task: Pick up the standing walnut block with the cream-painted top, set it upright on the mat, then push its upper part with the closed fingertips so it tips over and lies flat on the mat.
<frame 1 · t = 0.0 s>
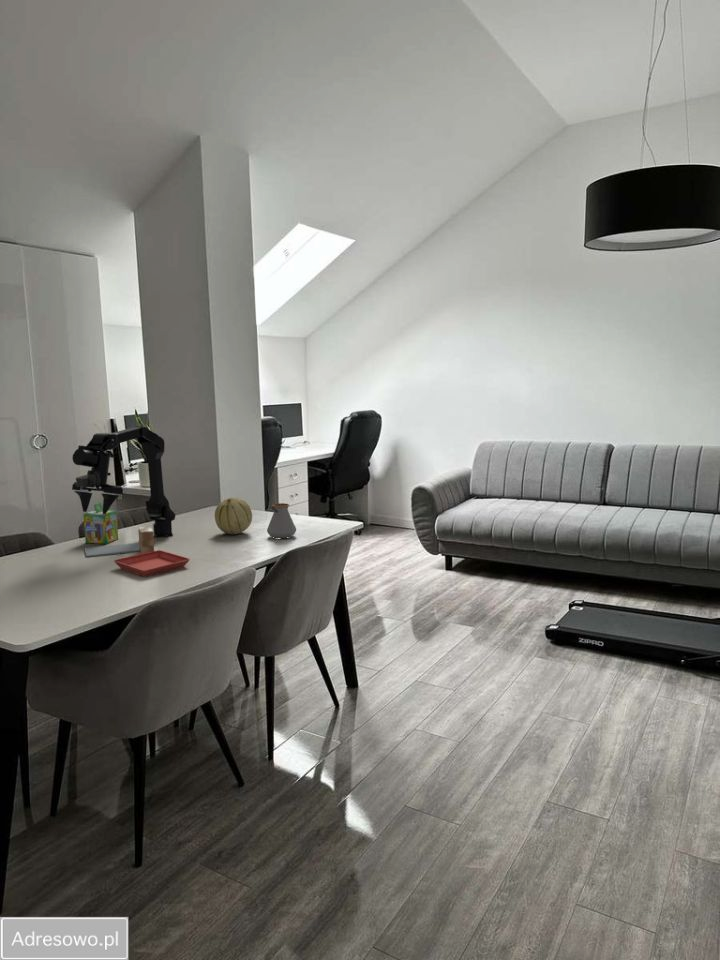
hand: (94, 512, 249), 15 cm above the table, tool pointing down, fingers open, 9 cm apart
coffee pot: (279, 540, 273), on the table
plant saucer: (152, 569, 235), on the table
cantaloupe: (234, 534, 284), on the table
colorful printed box: (102, 541, 273), on the table
block: (147, 553, 254), on the table
mat: (114, 550, 259), on the table
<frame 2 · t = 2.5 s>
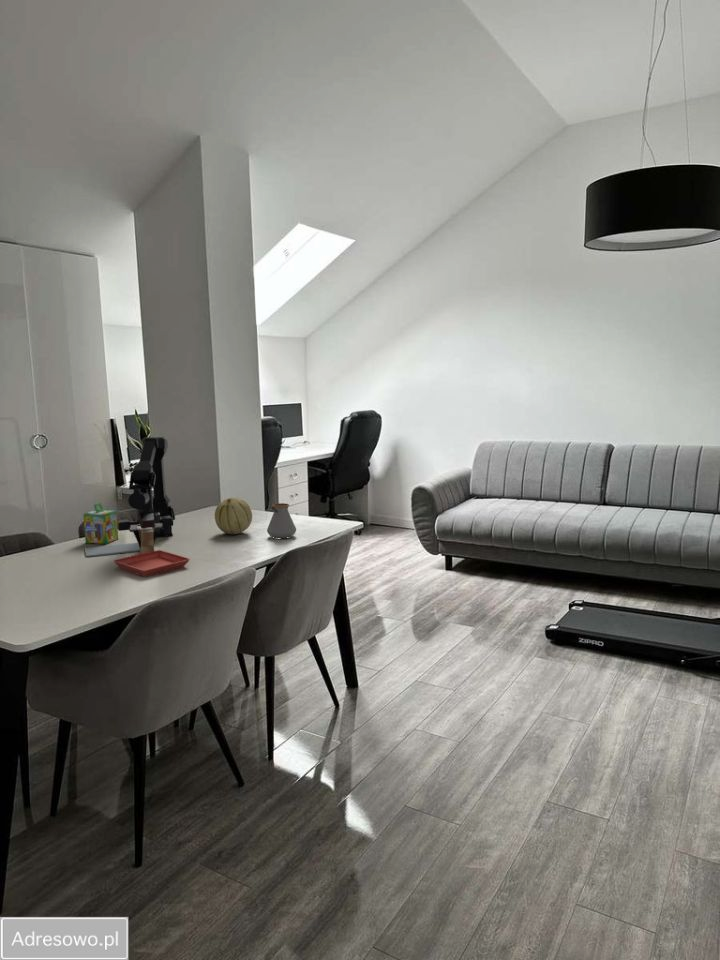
hand: (146, 546, 253), 3 cm above the table, tool pointing down, fingers closed on block, 4 cm apart
block: (147, 553, 254), on the table, touching gripper
everything else where it was.
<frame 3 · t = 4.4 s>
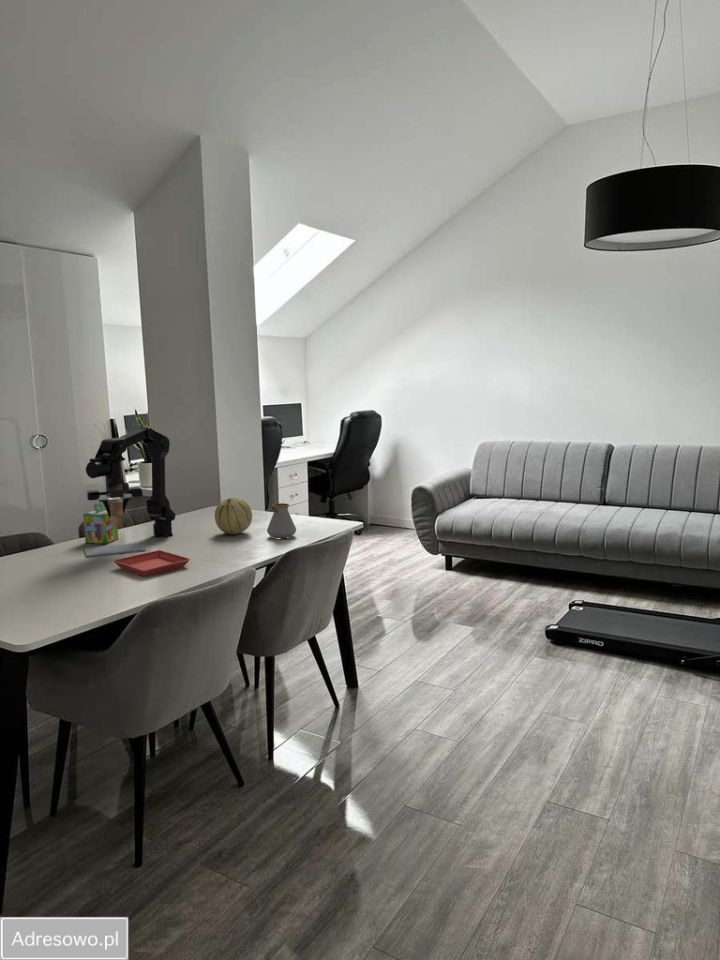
hand: (116, 516, 257), 12 cm above the table, tool pointing down, fingers closed on block, 4 cm apart
block: (116, 523, 258), point 10 cm above the table, touching gripper
everything else where it was.
when the fingers open (4 cm above the table, at t = 6.3 s): block stays where it is, resting on mat.
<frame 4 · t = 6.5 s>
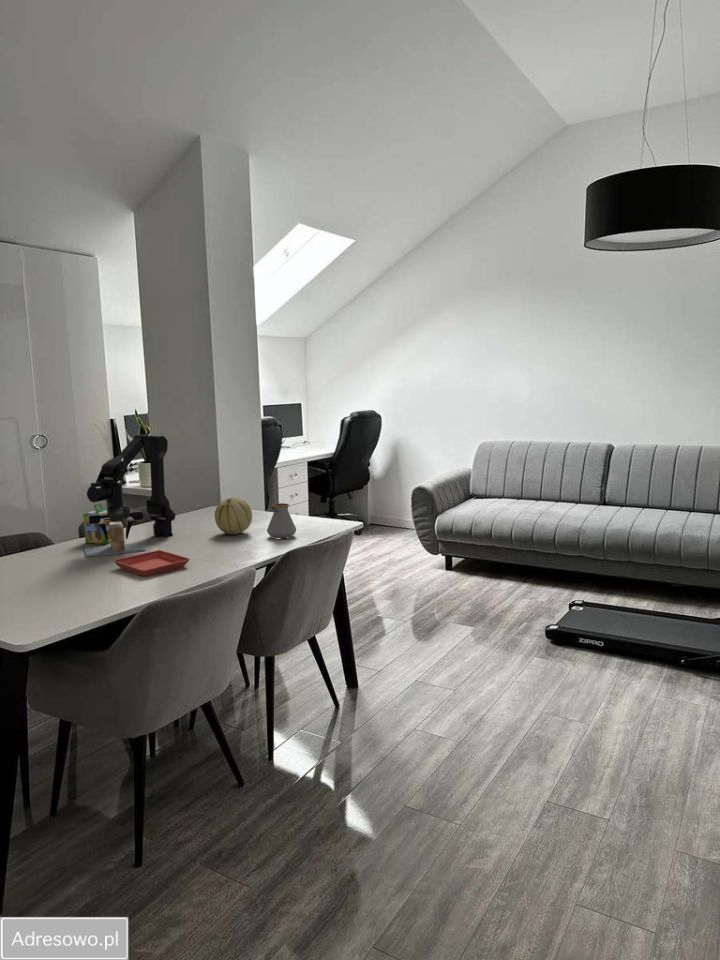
hand: (117, 539, 259), 4 cm above the table, tool pointing down, fingers open, 6 cm apart
block: (117, 548, 259), point 1 cm above the table, touching mat
everything else where it was.
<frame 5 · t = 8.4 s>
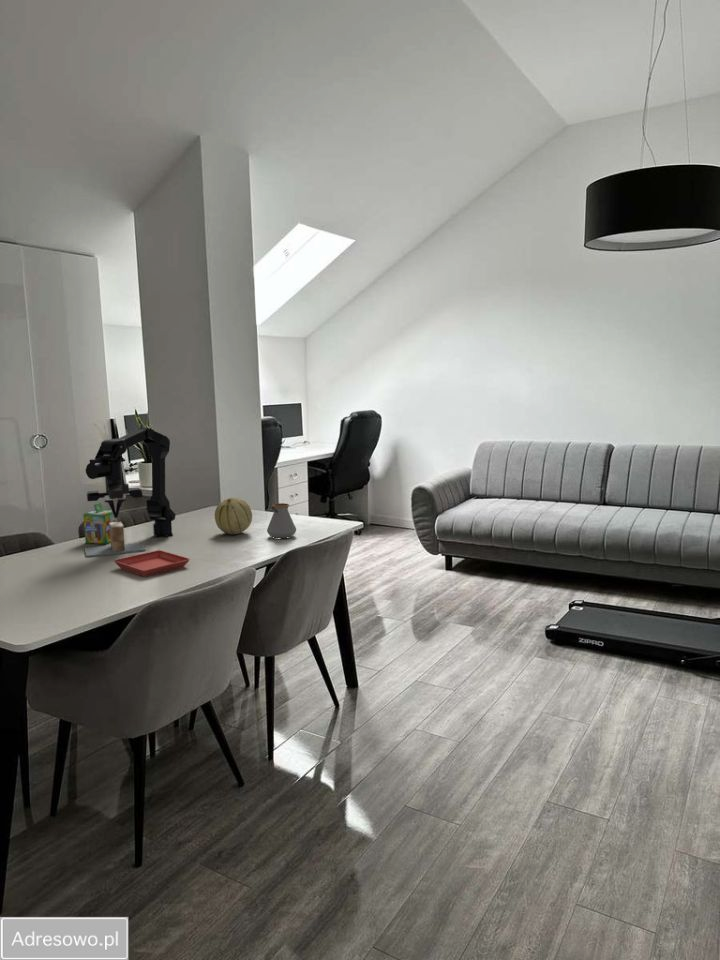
hand: (115, 517, 257), 12 cm above the table, tool pointing down, fingers closed
nothing on the table moved.
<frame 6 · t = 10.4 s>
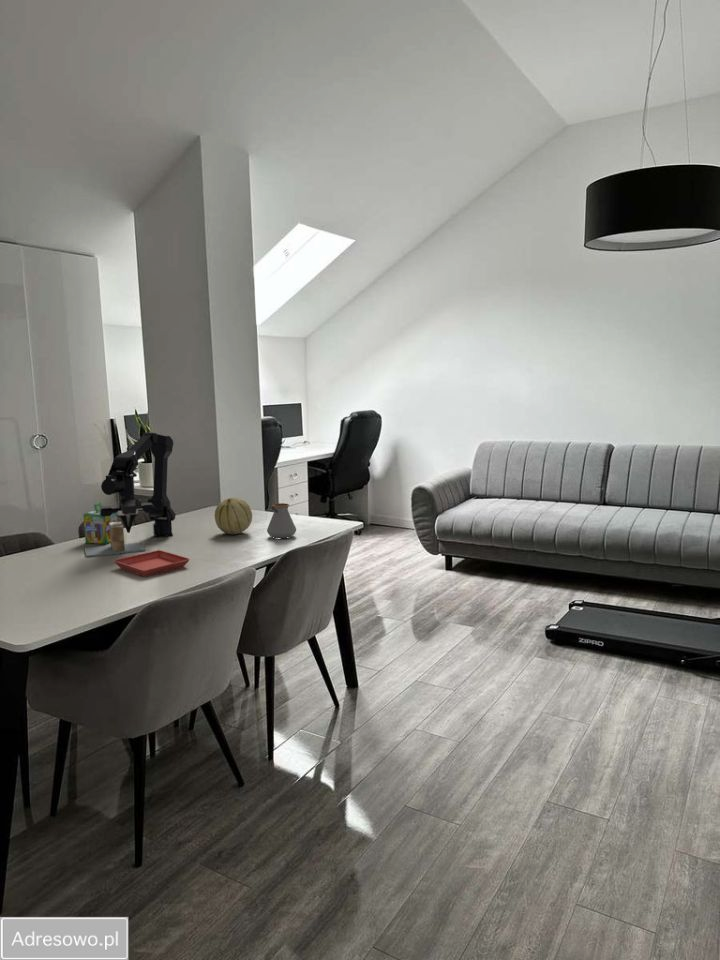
hand: (128, 532, 260), 6 cm above the table, tool pointing down, fingers closed
block: (117, 548, 259), point 1 cm above the table, touching gripper, mat
everything else where it was.
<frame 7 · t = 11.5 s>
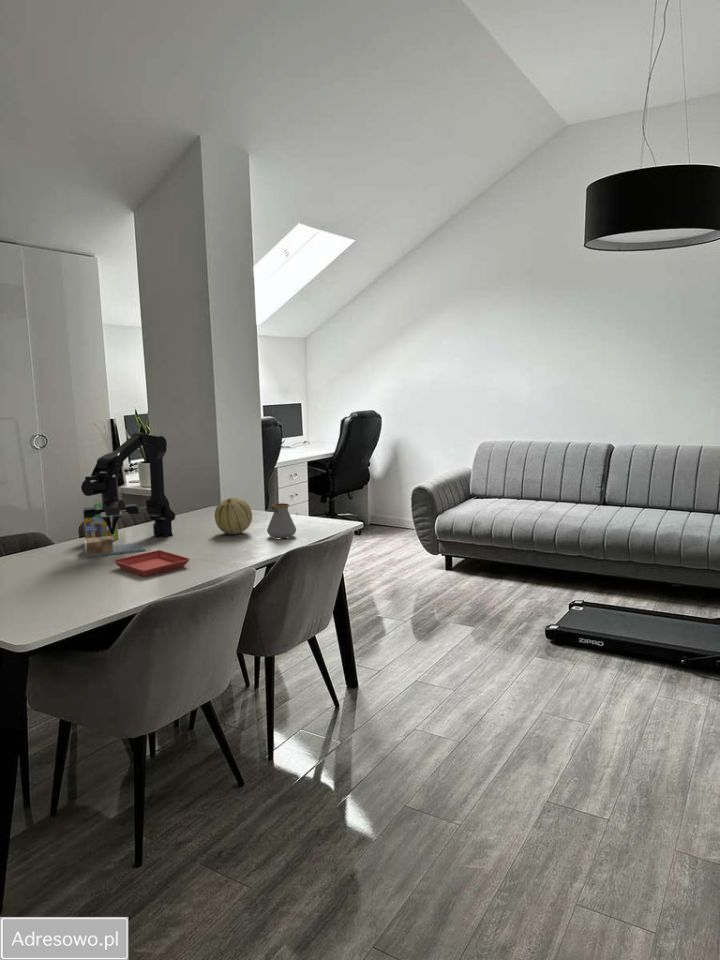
hand: (112, 534, 258), 6 cm above the table, tool pointing down, fingers closed
block: (111, 543, 258), point 3 cm above the table, tilted 90°, touching mat
everything else where it was.
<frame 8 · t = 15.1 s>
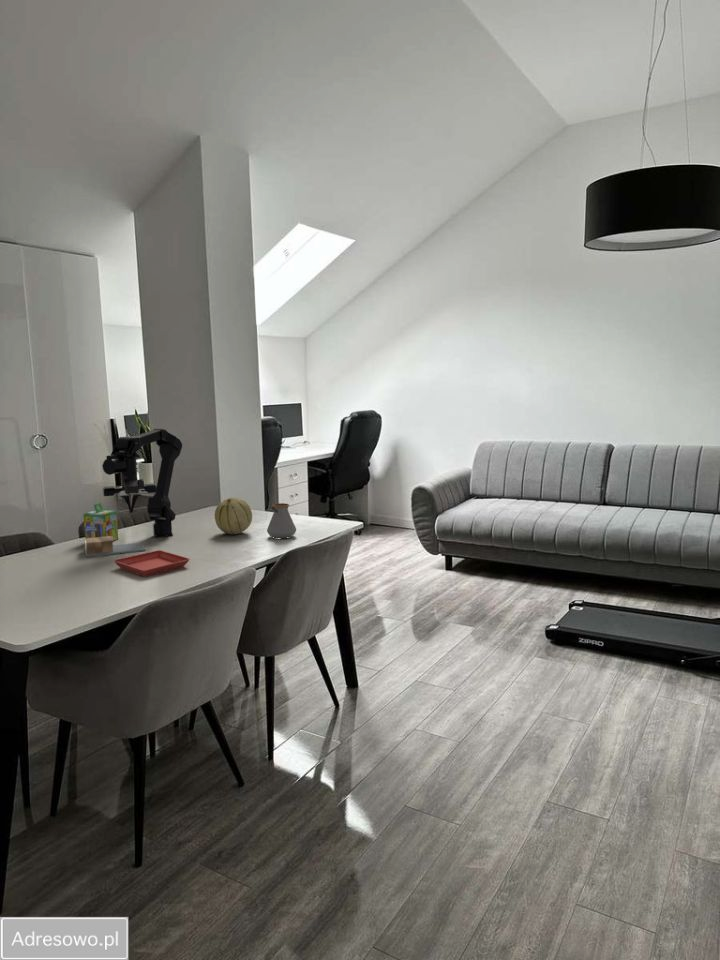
hand: (131, 512, 264), 12 cm above the table, tool pointing down, fingers closed
nothing on the table moved.
at the end: block tilted 90°; block inside the target area (2.6 cm from its centre), point 2.6 cm above the table; the gripper is holding nothing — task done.
